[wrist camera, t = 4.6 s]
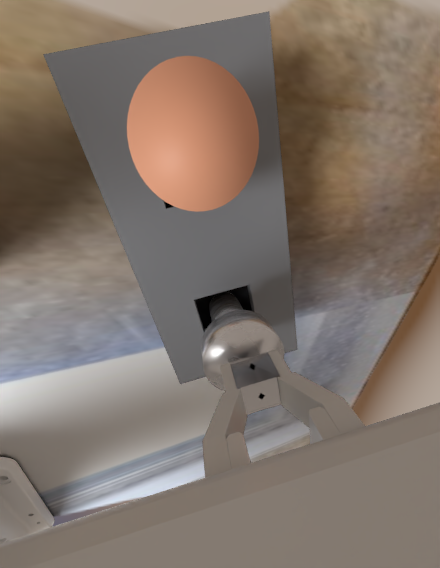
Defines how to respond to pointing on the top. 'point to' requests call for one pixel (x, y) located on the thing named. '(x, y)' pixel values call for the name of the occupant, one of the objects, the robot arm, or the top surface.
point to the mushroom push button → (192, 133)
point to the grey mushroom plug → (234, 336)
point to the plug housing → (174, 221)
